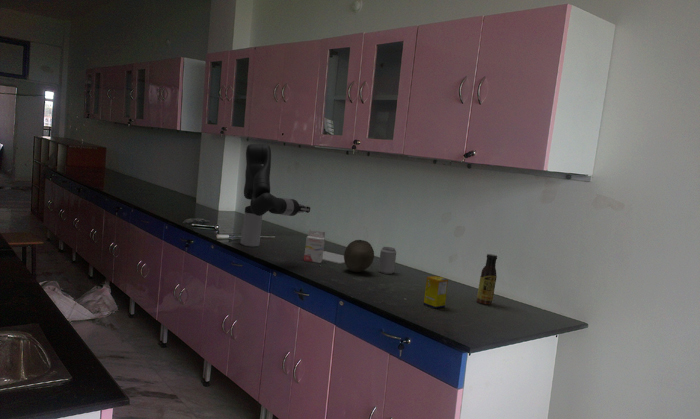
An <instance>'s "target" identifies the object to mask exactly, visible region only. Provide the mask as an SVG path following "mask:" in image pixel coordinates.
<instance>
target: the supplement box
mask: <svg viewBox="0 0 700 419" xmlns="http://www.w3.org/2000/svg"><path fill="white" fill-rule="evenodd" d="M425 281H426V282H425V290H424V299H423V306H426V305H427V307H429V306H430V308H432V309H434V308H436V309H442V308H445V307H446V300H447V291H448V285H449V278H446V277H442V276H439V275H433V276H431V275H430V276H426V280H425Z"/></svg>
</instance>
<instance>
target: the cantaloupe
mask: <svg viewBox="0 0 700 419" xmlns="http://www.w3.org/2000/svg"><path fill="white" fill-rule="evenodd" d="M343 256H344V261H345V263H344V264H345V266H346V268H347V269H348V270H349V271H351V272H353V273H361V272H363V271H365V270H367V269H368V268H369V267H371V265H372V264H373V262H374V259H375V251H374V249H373V246H372V244H371V242H368V241H367V240H363V239H355V240H353V241H351V242H349V244H348V245H347V246H346V248H345V250H344V253H343Z"/></svg>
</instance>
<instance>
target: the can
mask: <svg viewBox="0 0 700 419" xmlns="http://www.w3.org/2000/svg"><path fill="white" fill-rule="evenodd" d="M379 254H380V255H379V263H378V268H377V269H378V271H379V273H380V274H385V275H392V274H394V273H395V265H396V259H397V258H396V257H397V251H396V248H395V247H390V246H382V247H381V249H380V253H379Z"/></svg>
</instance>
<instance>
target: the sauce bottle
mask: <svg viewBox="0 0 700 419" xmlns="http://www.w3.org/2000/svg"><path fill="white" fill-rule="evenodd" d="M497 259H498V255H497V254H492V253H487V255H486V261H485V266H483V268H482V269H481V273H480V277H479V284H478V288H477V289H478V290H477V294H476V302H477V303H479V304H482V305H487V306H488V305H492V304H493V303H492V302H494V294H495V287H496V283H497V269H496V264H497Z"/></svg>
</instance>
